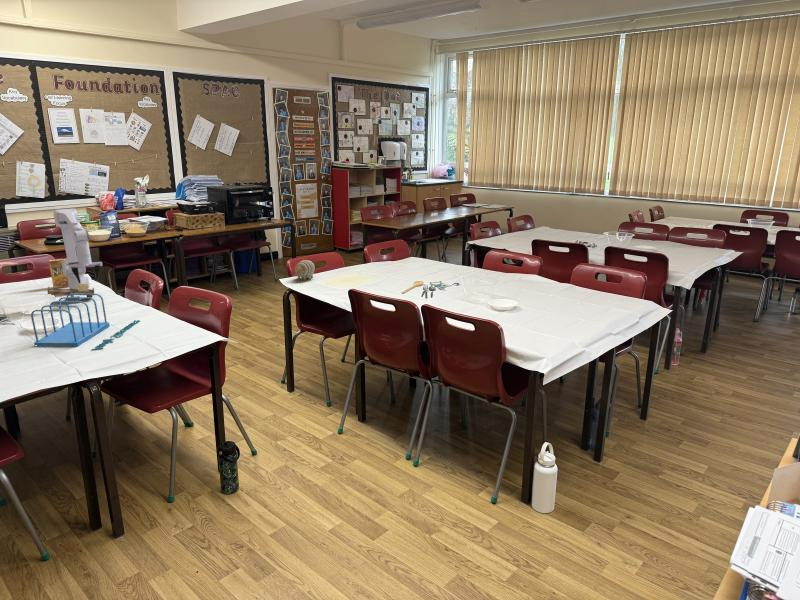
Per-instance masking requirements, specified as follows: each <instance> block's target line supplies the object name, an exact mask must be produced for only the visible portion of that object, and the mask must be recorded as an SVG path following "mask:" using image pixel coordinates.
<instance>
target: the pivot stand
mask: <svg viewBox="0 0 800 600" xmlns="http://www.w3.org/2000/svg"><path fill="white" fill-rule="evenodd" d="M70 294H73V292H71V293H70ZM69 297H75V295H70V296H69ZM76 297H81V295H76ZM68 301H81V299H68ZM68 304H69V305H74V304H77V303H68ZM65 305H67V303H65Z"/></svg>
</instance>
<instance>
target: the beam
mask: <svg viewBox="0 0 800 600" xmlns="http://www.w3.org/2000/svg"><path fill="white" fill-rule="evenodd" d="M71 292H73V294H95V288H94V287H92V289H91V290H89V289H88V292H78V289H69V288H50V286H48V287H47V295H48V294H51V296H52V295H56V296H58V295H59V296H60V295H61V296H67V295H69V294H70V293H71ZM86 297H90V298H92V299H93V295H86Z"/></svg>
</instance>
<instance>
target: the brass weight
mask: <svg viewBox="0 0 800 600" xmlns="http://www.w3.org/2000/svg"><path fill="white" fill-rule="evenodd" d="M78 292H88V284H78Z"/></svg>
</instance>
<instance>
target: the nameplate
mask: <svg viewBox="0 0 800 600" xmlns="http://www.w3.org/2000/svg"><path fill="white" fill-rule="evenodd" d="M135 322H136V323H135ZM140 322H141V320H140V319H137V320H135V319H134V320H133V322H130V323H129V324H128V325H125V327H123V328H122V329H120V330H119V331H117V332H115V333H114V334H113V335H111V336H109V338H107V339H103V340H102V342H101V343H99V344H97V345H96V346H94V348H91V349H90V350H91V352H92V351H100V350H104V347H106V345H108V344H110V343H111V344H112V343H114V340H115V339H118V338H121V337H122V336H124V333H126V332H127V331H128V330H130V329H132V328H133V327H134V325H135V326H136V325H137V324H139V323H140ZM113 337H114V338H113Z"/></svg>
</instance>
